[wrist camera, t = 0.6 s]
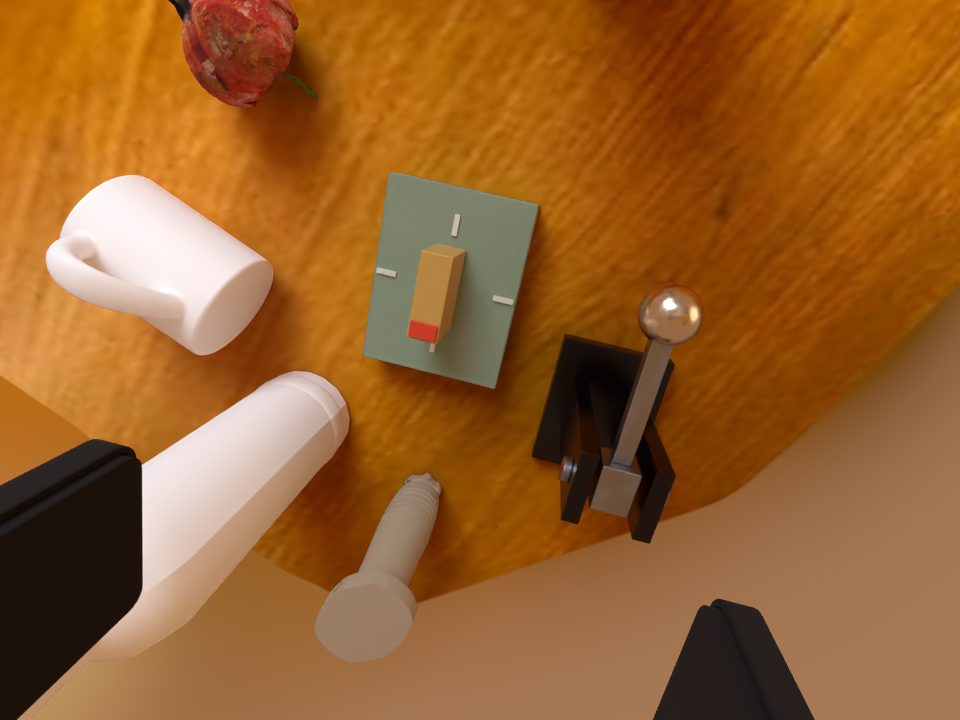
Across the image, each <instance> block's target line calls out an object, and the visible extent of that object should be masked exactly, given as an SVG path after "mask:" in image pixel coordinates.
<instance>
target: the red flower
mask: <svg viewBox="0 0 960 720" xmlns="http://www.w3.org/2000/svg"><path fill="white" fill-rule="evenodd" d="M169 1H170V2H171V3H172V4H173V5H174V6H175V8H176V10H177V12H178V14H179V16H180V17H181V19H182V21H183V22H184V26H183V34H182V36H183V49H184V53H185V57H186V60H187V63H188V64H189V67H190V69H191V71H192V73H193V75H194V76H195V78H196V79H197V81H198V82H199V83H200V85H201V86H202V87H203V88H204V89H206V90H207V91H208V93H210V94H211V95H213V96H214V97H216V98H218V99H219V100H221V101H222V102H224V103H226V104H229V105H232V106H236V107H250V106H255V105H256V103H257V102H258V101H259V99H260V98H262V97H265V96H266V95H267V93H268V92H269V91H270V90H271V88H272V83H273V82H274V81H275V80H276V78H277V77H278V76H280V75H282V76H284V77H286V78H287V79H289V80H291V81H292V82H294V83H295V84H297V85H298V86H299V87H301V88H302V89H304V90H305V91H307V92H308V93H309V94H311V95H312V96H314V97H315V98H317V99H319V97H318V96H317V95H316V94H315V93H314V92H313V91H312V90H311V89H309V88H308V87H306V86H304V84H303V83H302V82H301V80H300V79H299V78H298V77H294V76H291V75H289V74H288V73H286V72H285V70H286V69H287V67H288V65H289V63H290V60H291V57H292V51H293V48H294V45H295V32H294V31H295V30H296V29H297V27H298V25H299V24H298V19H297V17H296V14H295V12H294V10H293V9H292V7H291V5H290V4H289V3H288V1H287V0H169Z"/></svg>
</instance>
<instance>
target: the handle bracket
mask: <svg viewBox="0 0 960 720" xmlns="http://www.w3.org/2000/svg"><path fill="white" fill-rule="evenodd" d="M643 354H644V353H643V352H639V351H634V350H630V349H626V348H622V347H618V346H614V345H610V344H606V343H601V342H597V341H593V340H589V339H585V338H581V337H577V336H573V335H568V334H564V338H563V341H562V345H561V349H560V352H559V356H558V360H557V363H556V367H555V370H554V374H553V378H552V381H551V385H550V388H549V392H548V396H547V399H546V403H545V406H544V410H543V414H542V417H541V421H540V425H539V428H538V432H537V435H536V439H535V443H534V446H533V450H532V457H535V458H538V459H542V460H546V461H550V462H554V463H558V464H560V472H559V480H560V486H561V520H563V521H567V522H570V523H574V524H578V523H579V520H580V517H581V514H582V511H583V508H584V505H585V502H586V499H587V496H588V493H589V490H590V487H591V484H592V481H593V478H594V475H595V472H596V468H597V465H598V462H599V459H600V453H599V447H604V448H608V449H612V447H613V444H614V441H615V438H616V435H617V432H618V429H619V426H620V423H621V420H622V417H623V414H624V411H625V408H626V405H627V402H628V399H629V396H630V393H631V390H632V387H633V384H634V381H635V378H636V375H637V372H638V369H639V366H640V363H641V360H642V357H643ZM674 365H675V364H674V363H673V361H672V360H671V359H669V361H668V363H667V366H666V369H665V372H664V375H663V378H662V381H661V383H660V386H659V389H658V392H657V395H656V398H655V400H654V403H653V406H652V409H651V412H650V415H649V417H648V420H647V423H646V426H645V429H644V432H643V434H642V437H641V440H640V443H639V446H638V449H637V451H636V454H635V455H636V456H637V460H638V463H639V466H640V470H641V473H642V479H641V482H640V485H639V488H638V490H637V493H636V496H635V499H634V501H633V504H632V507H631V510H630V512H629V515H628V522H629V527H630V532H631V536H632V539H634V540H637V541H641V542H645V543H650V542H651V539H652V536H653V534H654V531H655V529H656V526H657V524H658V521H659V518H660V516H661V513H662V511H663V508H664V507H665V506H666V504H667V502H668V499H669V494H670V490H671V487H672V485H673V482H674V480H675V477H676V475H675V473H674V470H673V468H672V466H671V463H670V461H669V458H668V456H667V454H666V451H665V449H664V446H663V444H662V442H661V439H660V437H659V435H658V432H657V430H656V427H655V425H654V421H655V418H656V416H657V413H658V410H659V407H660V404H661V402H662V399H663V396H664V393H665V390H666V388H667V385H668V382H669V379H670V376H671V374H672V371H673V368H674Z"/></svg>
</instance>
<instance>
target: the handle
mask: <svg viewBox="0 0 960 720" xmlns="http://www.w3.org/2000/svg"><path fill="white" fill-rule="evenodd" d="M440 493H441V485H440V483H439V482H436V481H435V480H434V479H433V478H432V476H431V475H430V474H428V473H425V474H424V475H411V476H410V477H409V478H408V479H407V480H406V481H405V483H404V486H403V487H402V488H401V489H400V490H399V491H398V493H397V494H396V495H395V497H394V498H393V500H392V501H391V503H390V504H389V506H388V507H387V509H386V511H385V513H384V515H383V516H382V518H381V520H380V523H379V525H378V527H377V530H376V532H375V534H374V537H373V539H372V541H371V544H370V546H369V548H368V551H367V553H366V555H365V558H364V560H363V562H362V564H361V567H360V569H359V571H358V573H355V574H352V575H349V576H347V577H346V578H344V579H343V580H342V581H341V582H340V583H339V584H338V585H337V586H336V587H335V588H334V589H333V590H332V591H331V592H330V593H329V595H328V596H327V598H326V600H325V602H324V604H323V606H322V608H321V609H320V611H319V613H318V616H317V619H316V622H315V625H314V632H315V634H316V636H317V638H318V640H319V641H320V642H321V644H322V645H323V646H324V647H325V648H326V649H327V650H328V651H330V652H331V653H332V654H333V655H335V656H336V657H338V658H340V659H342V660H344V661H347V662H350V663H360V662H367V661H373V660H377V659H380V658H382V657H384V656H386V655H387V654H389V653H390V652H392V651H393V650H395V649H396V648H397V647H398V646H400V645H401V644H402V643H403V641H404V640H405V638H406V636H407V634H408V632H409V630H410V627H411V625H412V623H413V620H414V617H415V614H416V611H417V603H416V599H415V597H414V595H413V593H412V592H411V591H410V589H409V588H408V587H407V586H408V584H409V582H410V580H411V577H412V575H413V573H414V571H415V569H416V566H417V564H418V562H419V560H420V558H421V556H422V554H423V552H424V549H425V547H426V545H427V543H428V541H429V539H430V536H431V533H432V530H433V527H434V524H435V521H436V517H437V513H438V506H439V498H438V497H439V495H440Z"/></svg>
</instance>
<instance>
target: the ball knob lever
mask: <svg viewBox="0 0 960 720" xmlns="http://www.w3.org/2000/svg"><path fill="white" fill-rule="evenodd" d="M704 317H705V310H704V305H703V302H702V300H701V298H700V297H699V295H698V294H697V293H696V292H695V291H694V290H693V289H691V288H690V287H688V286H686V285H683V284H680V283H665V284H661V285H658V286H656V287H654V288H653V289H651V290H650V291H649V292H648V293H647V294H646V295H645V296H644V297H643V299H642V300H641V302H640V305H639V308H638V323H639V326H640V328H641V330H642V332H643V333H644V334H645V335H646V337H647V338H649V339H648V342H647V345H646V348H645V351H644V354H643V357H642V360H641V363H640V366H639V369H638V372H637V375H636V378H635V381H634V384H633V387H632V390H631V393H630V396H629V399H628V402H627V405H626V408H625V411H624V414H623V417H622V420H621V423H620V426H619V429H618V432H617V435H616V438H615V441H614V444H613V447H612V449H608V448H604V447H599V453H600V459H599V462H598V465H597V468H596V472H595V475H594V478H593V481H592V484H591V487H590V490H589V493H588V501H589V508H590V509H594V510H597V511H601V512H605V513H609V514H612V515H616V516H620V517H624V518H628V515H629V512H630V510H631V507H632V504H633V501H634V499H635V496H636V493H637V490H638V488H639V485H640V482H641V479H642V473H641V470H640V466H639V463H638V460H637V456H636V455H635V454H636V451H637V449H638V446H639V443H640V440H641V437H642V434H643V432H644V429H645V426H646V423H647V420H648V417H649V415H650V412H651V409H652V406H653V403H654V400H655V398H656V395H657V392H658V389H659V386H660V383H661V381H662V378H663V375H664V372H665V369H666V366H667V363H668V361H669V358H670V355H671V352H672V349H673V346H676V345H680V344H683V343H686V342H688V341H689V340H691V339H692V338H693V337H694V336H695V335H697V333H698V332H699V331H700V329H701V327H702V325H703V322H704Z"/></svg>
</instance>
